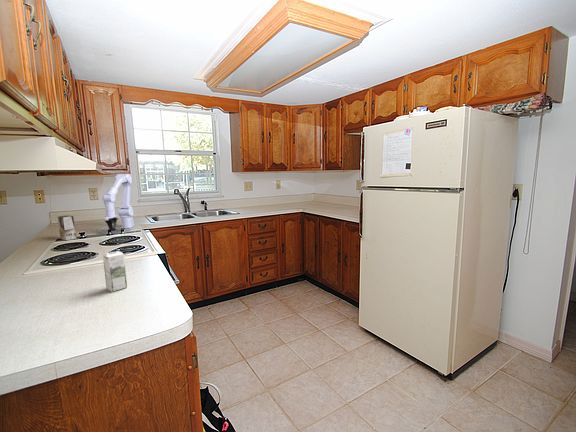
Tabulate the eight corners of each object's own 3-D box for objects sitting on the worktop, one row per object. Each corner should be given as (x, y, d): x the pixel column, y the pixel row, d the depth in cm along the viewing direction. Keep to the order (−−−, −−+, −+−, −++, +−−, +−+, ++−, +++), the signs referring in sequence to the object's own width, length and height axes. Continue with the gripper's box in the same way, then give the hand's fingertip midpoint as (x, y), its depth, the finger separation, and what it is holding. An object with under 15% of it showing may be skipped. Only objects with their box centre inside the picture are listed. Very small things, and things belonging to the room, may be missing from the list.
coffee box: (76, 238, 203) (73, 215, 200) (66, 240, 197) (62, 217, 195) (70, 237, 207) (67, 214, 205) (60, 239, 202) (56, 216, 199)
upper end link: (103, 231, 226) (103, 228, 226) (122, 230, 227) (122, 227, 227) (96, 234, 216) (96, 230, 216) (116, 233, 217) (116, 230, 217)
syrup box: (121, 284, 119) (117, 250, 117) (127, 287, 115) (124, 252, 113) (106, 288, 115) (102, 253, 112) (112, 292, 111) (107, 256, 109)
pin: (111, 230, 223) (109, 221, 222) (116, 230, 224) (115, 221, 223) (108, 231, 220) (107, 222, 218) (113, 231, 220) (112, 222, 219)
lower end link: (109, 231, 226) (109, 229, 226) (130, 230, 228) (130, 228, 228) (102, 233, 216) (102, 231, 216) (124, 233, 218) (124, 231, 218)
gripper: (109, 209, 226) (111, 226, 228) (99, 212, 212) (101, 230, 214) (119, 209, 227) (121, 226, 229) (109, 211, 212) (111, 229, 215)
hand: (112, 228), depth 221 cm, fingers closed on pin, 4 cm apart
